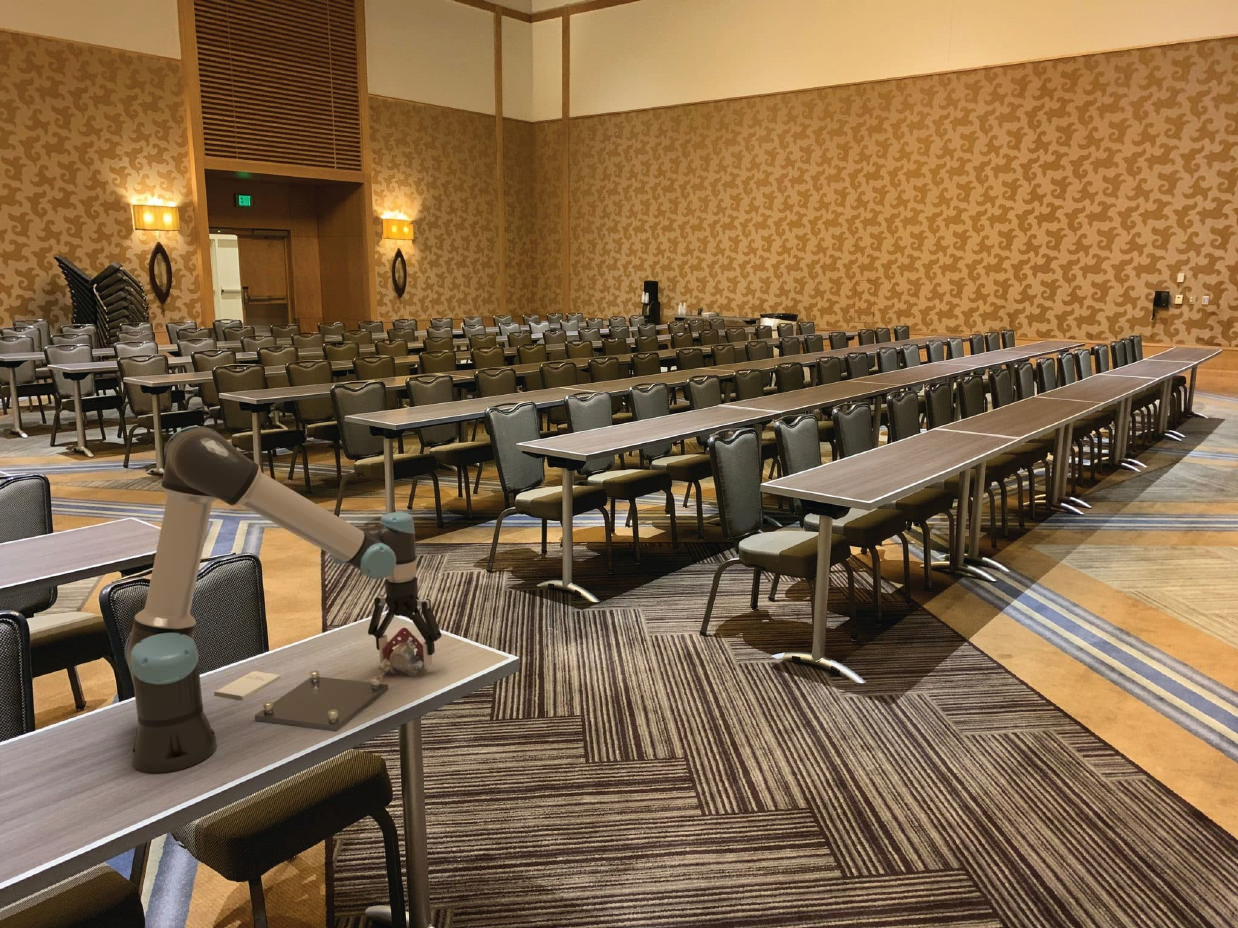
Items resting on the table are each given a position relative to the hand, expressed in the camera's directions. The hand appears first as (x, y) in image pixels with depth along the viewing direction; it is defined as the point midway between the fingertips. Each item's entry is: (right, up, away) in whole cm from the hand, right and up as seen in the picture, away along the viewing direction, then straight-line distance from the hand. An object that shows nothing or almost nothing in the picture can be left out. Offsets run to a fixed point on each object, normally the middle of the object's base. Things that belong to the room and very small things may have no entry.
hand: (406, 664), depth 220 cm
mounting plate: (-14, -5, -17) cm, 23 cm away
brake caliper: (0, -2, 0) cm, 2 cm away
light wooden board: (-35, -4, -7) cm, 36 cm away
